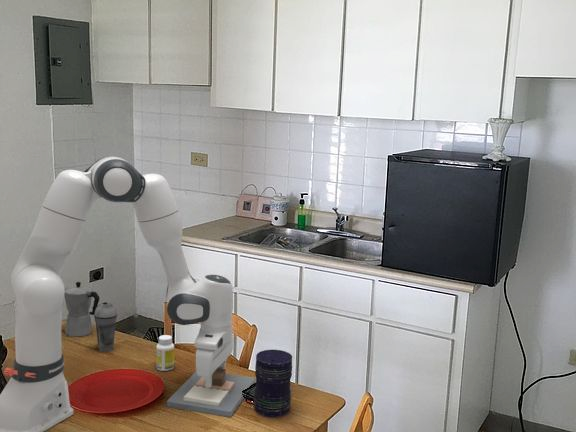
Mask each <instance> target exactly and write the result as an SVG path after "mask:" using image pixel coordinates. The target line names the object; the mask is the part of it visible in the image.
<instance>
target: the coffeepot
mask: <svg viewBox="0 0 576 432" xmlns="http://www.w3.org/2000/svg"><path fill="white" fill-rule="evenodd" d="M81 283H82V282H81V281H76V282H75V285H76V286H73V287H71V286H70V287H64V289H65V295H64V302H65V307H66V310H67V311H68V314H67V317H66V323H65V329H64V334H65V335H67V336H68V337H71V338H72V337H74V338H78V337H86V336H89V335H90V334H92V332H93V331H94V330H93V329H94V328H93V324H92V318H91V315H92V316H94V313H95V310H96V308H97V306H98V305H99V302H100V296H99V294H98V292H96V291H94V290H93V289H92V288H91V287H88V286H81ZM92 298H94V300H93V305H92ZM91 305H92V310H91V311H90V308H91Z"/></svg>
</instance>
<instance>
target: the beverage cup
mask: <svg viewBox="0 0 576 432" xmlns="http://www.w3.org/2000/svg"><path fill="white" fill-rule="evenodd" d="M110 295H111V289H110V288H109V289H108V291H107V299H106V302H104V301H103V302H102V303H100V304H98V306H97V308H96V310H95V313H94V315H93V317H94V322H95V327H96V328H95V329H96V337H97V338H96V339H97V346H98V351H100V352H101V353H102V352H104V353H106V352H110V351H113V350H114V345H115V344H114V343H115V331H116V322H117V319H118V318H117V317H118V311H117V308H116V307H115V306H114V304H112V303H111V302H110Z"/></svg>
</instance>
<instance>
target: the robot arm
mask: <svg viewBox="0 0 576 432" xmlns="http://www.w3.org/2000/svg"><path fill="white" fill-rule="evenodd" d="M101 198H102V199H103V200H105V201H108V202H111V203H130V204H131V206H132V208H133V211H134V212H135V213H134V214H135V216H136V217H135V218H136V221H137V223H138V226H139V229H140V232H141V235H142V236H143V238H144V239H145V242H146V243H147V245H149V246H150V247H151V248H153V249H155V251H156V252H157V253H158V254H159V257H160V259H161V263H162V265H163V269H164V272H165V274H166V277H167V278H166V279H167V287H166V292H165V294H166V311H167V316H168V318H169V319H170V320H171V321H172V322H173V323H175V324H176V325H180V326H188V325H190V326H191V325H196V324H200V328H199V331H198V334H197V336H196V338H195V340H194V348H196V351H195V372H196V373H197V375H198V376H199V377H204V380H205V387H208V388H211V387H212V385H213V380H212V374H213V373H214V372H215V371H216V369H217V368H222V369H226V367H225V366H226V364H227V360H228V357H229V356H230V355H231V354H232V352H233V349H234V335H233V327H234V326H233V318H232V317H233V316H232V313H233V309H234V290H233V289H234V288H233V285H232V284H233V283H231V281H230V280H229V279H228V278H226V277H225V276H222V275H219V274H207V275H205V276H204V277H202V278H201V279H200V280H198V281H196V280H195V279H194V277H193V276H192V275H191V274H190V271H189V268H188V266H187V265H188V264H187V261H186V258H185V255H184V251H183V246H182V242H183V241H182V240H183V224H182V223H183V222H182V218H181V213H180V210H179V206H178V203H177V199H176V198H175V195H174V192H173V191H172V189H171V186H170V184H169V183H168V181H167V179H166V178H165V177H164V176H163V175H161V174H158V173H147V174H146V173H145V174H143V175H142V174H141V173H140V172H139V171H138V170H137V169H136V168H135V167H134V165H132V164H131V163H130V162H129V161H127V159H124V158H122V157H120V156H113V155H108V156H104V157H101V158H99V159H98V160H96V161H95V162H94V163H93V164H92V165H90V166H89V167H87V168H86V169H85V170H84V171H80V170H76V169H66V170H63V171H61V172H59V173H58V175H56V178H55V179H54V181H53V182H52V184H51V186H50V188H49V189H48V192H47V194H46V196H45V199H44V200H43V202H42V206H41V208H40V211H39V214H38V216H37V219H36V221H35V223H34V225H33V229H32V231H31V233H30V237H29V238H28V240H27V242H26V244H25V246H24V248H23V249H22V251H21V253H20V256H19V257H18V259H17V262H16V264H15V266H14V268H13V270H12V273H11V276H10V277H11V278H10V283H11V287H12V289H13V292H14V296H15V302H16V305H15V307H16V309H15V312H16V313H15V326H14V327H15V328H14V343H15V344H14V346H15V359H14V360H13V364H12V368H11V367H5V369H4V371H3V375H5V376H6V377H9V376H10V379H9V381H8V382H7V383H6V385H5V386H4V388H3V390H2V391H1V393H0V432H45V431H47V430H49V429H50V428H52V427H54V426H56V425H57V424H59V423H61V422H62V421H64V420H66V419H68V418H70V417H71V416H72V415H74V413H75V412H74V411H75V410H74V408H73V407H71V402H70V394H69V386H68V382H67V380H66V377H65V373H64V369H65V358H64V357H65V356H64V354H63V353H62V351H63V349H62V348H63V347H62V342H63V341H62V340H63V338H62V324H63V316H64V307H65V296H64V295H65V289H64V288H65V283H64V282H63V279H62V278H61V273H62V270H64V267H65V265H66V263H67V261H68V260H69V257H70V256H72V253H73V252H74V251H75V250H76V248H77V245H78V242H79V240H80V237H81V235H82V232H83V229H84V227H85V224H86V221H87V219H88V215H89V213H90V211H91V208H92V206H93V204H95V202H96V201H98V200H100V199H101Z"/></svg>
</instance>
